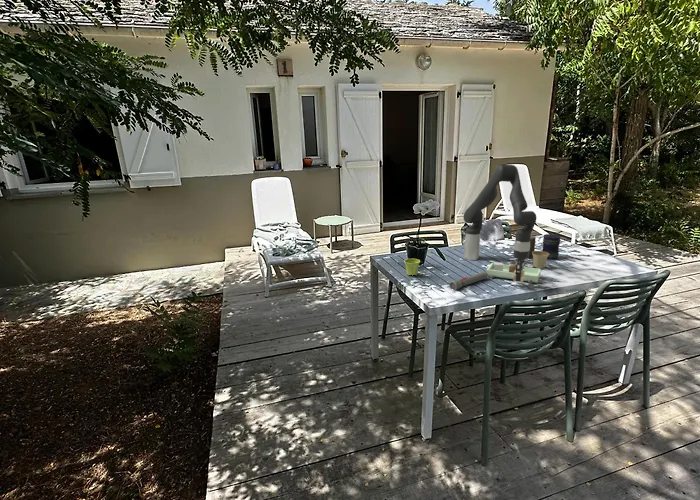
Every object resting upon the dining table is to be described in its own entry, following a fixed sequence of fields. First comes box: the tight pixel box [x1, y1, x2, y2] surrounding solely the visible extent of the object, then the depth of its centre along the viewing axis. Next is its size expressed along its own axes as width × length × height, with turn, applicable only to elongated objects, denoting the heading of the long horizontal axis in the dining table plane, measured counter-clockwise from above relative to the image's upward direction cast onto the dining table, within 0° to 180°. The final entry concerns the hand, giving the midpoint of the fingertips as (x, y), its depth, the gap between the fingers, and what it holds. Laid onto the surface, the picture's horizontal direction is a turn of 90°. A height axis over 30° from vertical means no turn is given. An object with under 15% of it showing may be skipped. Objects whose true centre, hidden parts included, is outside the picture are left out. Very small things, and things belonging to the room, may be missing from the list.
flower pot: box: [532, 250, 549, 269], centre depth 236 cm, size 9×9×9 cm
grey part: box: [494, 261, 504, 271], centre depth 224 cm, size 4×4×5 cm
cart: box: [485, 262, 542, 285], centre depth 220 cm, size 27×16×4 cm, turn 59°
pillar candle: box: [527, 235, 536, 260], centre depth 255 cm, size 10×10×15 cm
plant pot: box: [403, 258, 421, 277], centre depth 228 cm, size 9×9×9 cm
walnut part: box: [509, 263, 516, 273], centre depth 220 cm, size 4×4×5 cm
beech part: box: [512, 270, 525, 283], centre depth 206 cm, size 4×4×5 cm
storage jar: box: [541, 233, 561, 261], centre depth 251 cm, size 10×10×15 cm
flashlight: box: [449, 271, 489, 291], centre depth 212 cm, size 5×28×5 cm, turn 124°
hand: (518, 279), depth 206 cm, fingers closed on beech part, 4 cm apart
